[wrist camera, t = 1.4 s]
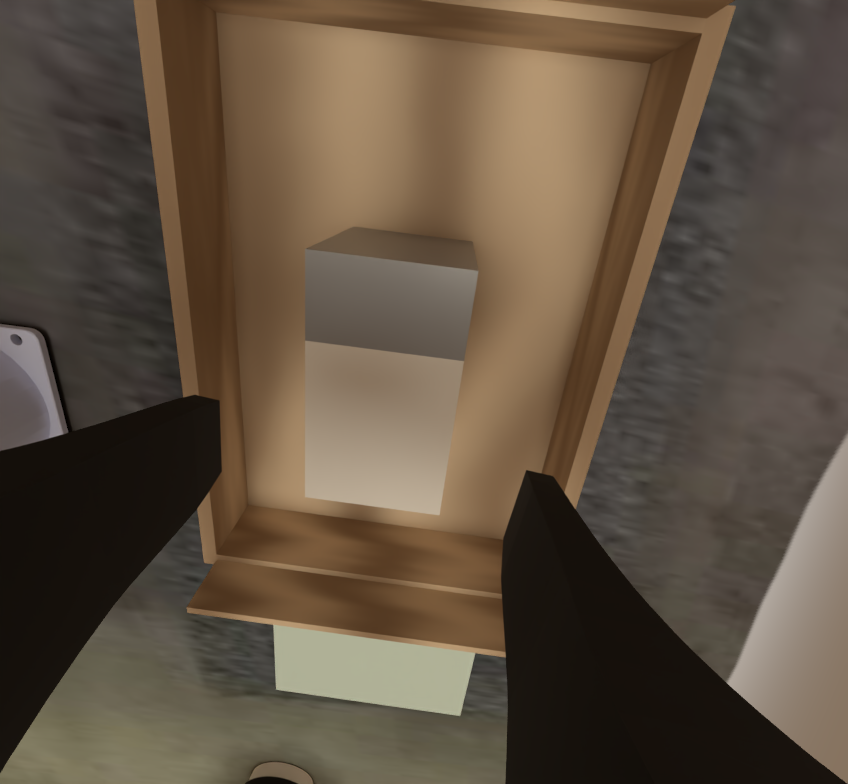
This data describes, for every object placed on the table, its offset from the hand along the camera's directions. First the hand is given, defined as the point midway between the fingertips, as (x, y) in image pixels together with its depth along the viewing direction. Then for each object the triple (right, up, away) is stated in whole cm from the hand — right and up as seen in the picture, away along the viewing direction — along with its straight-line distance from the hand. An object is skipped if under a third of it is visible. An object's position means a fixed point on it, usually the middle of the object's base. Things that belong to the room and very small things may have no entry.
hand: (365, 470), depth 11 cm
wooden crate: (+1, +4, +9) cm, 10 cm away
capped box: (0, +4, +8) cm, 9 cm away
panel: (-2, -13, +17) cm, 21 cm away
